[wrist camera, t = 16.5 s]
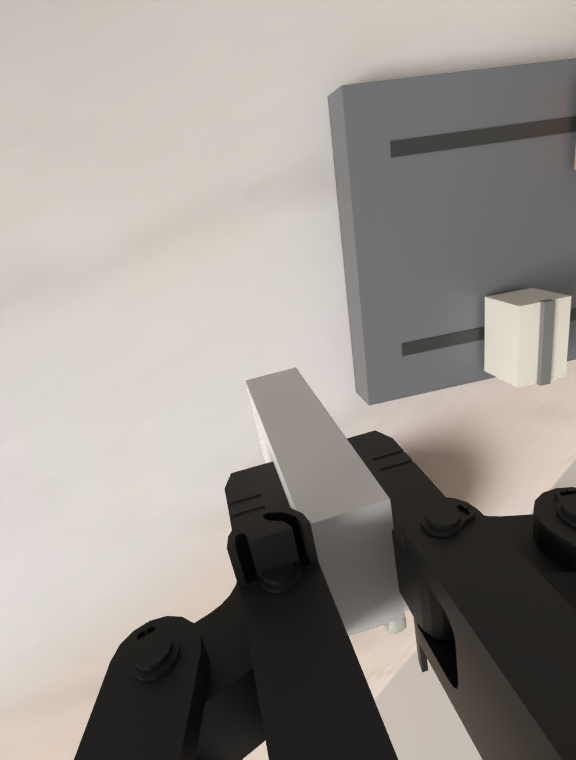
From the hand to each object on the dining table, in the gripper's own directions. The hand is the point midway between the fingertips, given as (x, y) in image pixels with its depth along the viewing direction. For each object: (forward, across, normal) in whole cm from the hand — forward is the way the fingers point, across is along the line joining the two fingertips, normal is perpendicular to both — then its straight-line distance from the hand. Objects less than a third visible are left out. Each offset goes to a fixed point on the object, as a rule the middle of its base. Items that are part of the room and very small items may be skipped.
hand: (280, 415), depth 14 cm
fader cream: (+19, +21, -8) cm, 30 cm away
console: (+23, +22, -1) cm, 32 cm away
